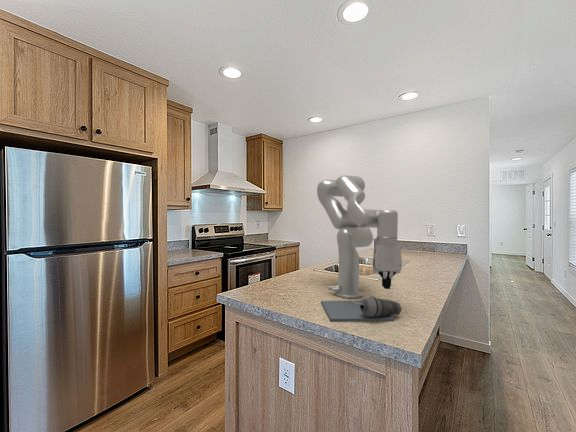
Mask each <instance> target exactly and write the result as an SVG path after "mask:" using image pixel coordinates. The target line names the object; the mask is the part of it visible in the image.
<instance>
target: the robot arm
mask: <svg viewBox="0 0 576 432" xmlns="http://www.w3.org/2000/svg"><path fill="white" fill-rule="evenodd" d="M365 182H366V181H365V180H364V179H363V178H362V177H360V176H356V175H340V176H339V177H337V178H336V179H324V180H321V181H320V182H319V183H318V185H317V187H316V195H317V199H318V201H319V202H320V204H321V206H322V207H323V209H324V210H325V212H326V214H327V216H328V218H329V220H330V222H331V224H332V226H333V227H334V228H335V229H336V230H338V231H337V233H336V242H337V249H338V251H337V252H338V277H337V278H338V282H337V283H336V284H335V285H328V286H327V289H328V290H329V291H332V292H333V291H334V294H335V295H336V296H337V297H340V298H343V299H345V298H346V299H359V298H362V296H363V291H360V255H359V252H358V251H357V249H356V248H365V247H366V248H367V247H369V246H370V245H372V243H373V242H374V243H376V244H374V249H373V255H372V256H373V258H372V273H374V274H378V275H379V276H380V277H381V286H382V288H383V289H385V290H391V287H392V279H393V277H394V276H396V275H398V274H401V270H402V269H403V262H402V261H403V260H402V251H401V246H400V244H398V227H399V226H398V225H399V224H398V223H399V222H398V220H399V215H398V211H397V210H395V209H394V210H393V209H371V208H370V209H366V208H362V207H361V206H360V205H361V204H362V203H363V202H364V200H365V198H366V194H365V191H364V190H365V187H366V184H365ZM336 197H343V198H344V200H345V201H346V202H347V204H346V209H345V208H344V207H343V205H342V203H341V202H340V200H338V199H337V198H336ZM371 228H376V238H374V235H373V232H372V229H371Z"/></svg>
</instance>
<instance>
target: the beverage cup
mask: <svg viewBox="0 0 576 432" xmlns="http://www.w3.org/2000/svg"><path fill="white" fill-rule="evenodd" d="M360 301H361V303H357V302H352V303H355V304H359V305H360V309H361V311H362V313H363V314H364V315H366V316H368V317H377V316H387V315H391V316H399V315H400V314H401V313H402V306H401V304H400V303H399V302H397V301H393V300H388V299H382V298H379V297H378V298H377V297H374V296H372V295H371V296H370V295H369V296H366V297H364V298H362V300H360Z"/></svg>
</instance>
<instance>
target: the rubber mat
mask: <svg viewBox="0 0 576 432" xmlns="http://www.w3.org/2000/svg"><path fill="white" fill-rule="evenodd" d="M361 301H362V300H320V304H321V306H322V307H323V310H324V311H325V314H326V316H327V317H328V319H329V322H330V323H331V322H332V323H333V322H335V323H337V322H338V323H339V322H341V323H342V322H343V323H344V322H348V323H349V322H354V323H355V322H361V323H362V322H396V321H395V317H394V316H393V315H387V316H377V317H368V316H366V315H364V314H363V313H362V311H361V309H360V305H359V304H355V303H352V302H357V303H361Z"/></svg>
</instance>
